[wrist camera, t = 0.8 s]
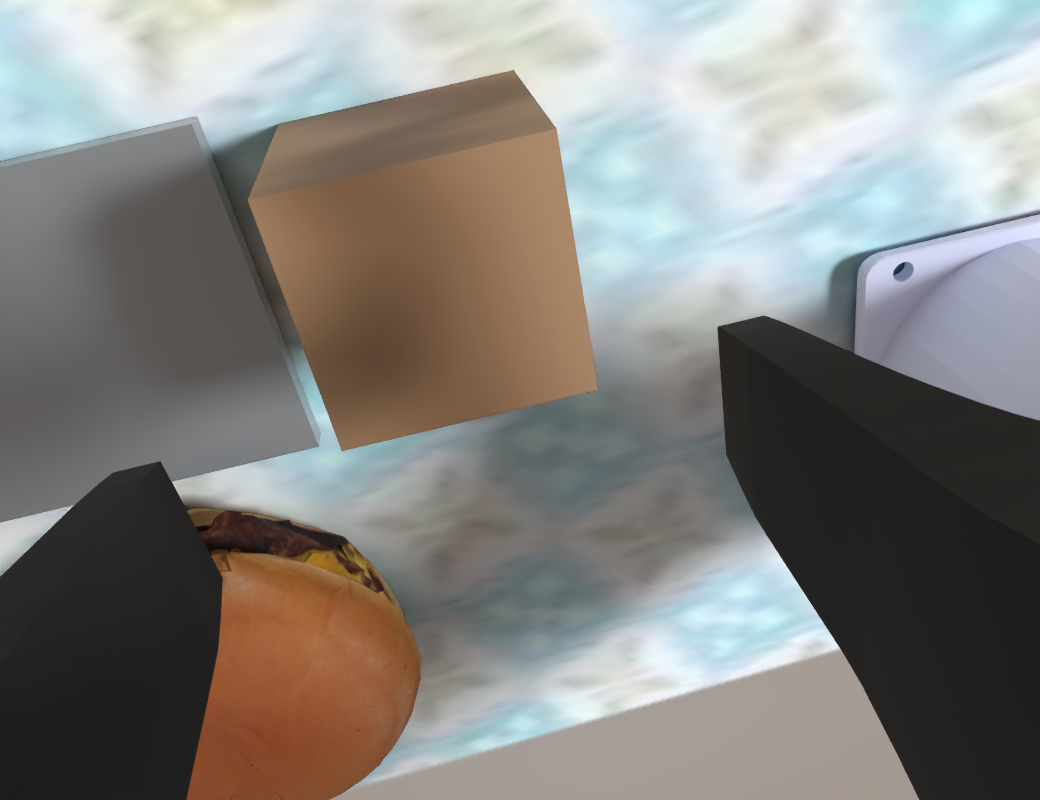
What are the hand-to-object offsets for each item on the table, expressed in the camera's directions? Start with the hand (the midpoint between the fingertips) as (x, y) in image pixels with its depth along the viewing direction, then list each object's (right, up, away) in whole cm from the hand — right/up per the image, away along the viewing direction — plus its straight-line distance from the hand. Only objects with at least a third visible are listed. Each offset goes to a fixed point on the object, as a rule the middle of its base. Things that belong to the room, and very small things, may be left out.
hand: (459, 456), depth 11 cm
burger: (-7, -5, +14) cm, 16 cm away
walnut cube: (-1, +5, +8) cm, 10 cm away
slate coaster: (-9, +2, +8) cm, 12 cm away
